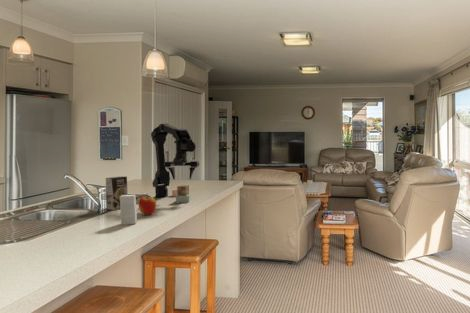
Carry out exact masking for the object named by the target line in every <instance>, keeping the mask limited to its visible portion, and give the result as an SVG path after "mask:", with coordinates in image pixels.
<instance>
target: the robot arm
mask: <svg viewBox="0 0 470 313" xmlns="http://www.w3.org/2000/svg"><path fill="white" fill-rule="evenodd" d="M169 134H170V135H172V137H173V138H174V139H175V140H174V141H173V143H174V144H175V155H174V156H175V157H174V158H173V160H171V161H169V160H167V161H166V158H165V154H166V153H165V143H166V141H167V136H168V135H169ZM150 136H151V141H152V142H153V144H154V145H155V155H156V156H155V157H156V167H157V168H156V169H157V170H156V171H155V174H154V179H153V181H152V187H153V188H154V189H155V191H154V192H155V195H154V198H166V197H168V196H169V188H168V187H169V186H170V183H171V182H170V181H171V177H172V179H173V180H176V173H175V172H176V170H175V168H176V167H177V166H179V167H182V166H185V167H188V166H189V180H192V177H193V174H194V172H195V169H196V168H198V167H200V161H199V160H191V161H188V158H187V157H188V156H187V155H188V153H189V152H190V153H193V152H194V151H195V150H196V148H197V146H196V143H195V142H194V141H193V139H192V137H191V135H190V133H189V131H188V129H187V128H183V127H181V128H178V127H176V126H173V125H170V124H169V123H160V124H159V125H158V126H157V127H155V128H154V129H153V130H152V131H151V133H150ZM167 169H168V170H167ZM170 174H171V176H170Z"/></svg>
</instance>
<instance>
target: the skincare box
mask: <svg viewBox="0 0 470 313" xmlns="http://www.w3.org/2000/svg"><path fill="white" fill-rule="evenodd" d="M136 198H137V197H136V194H128V195H122V196H120V209H119V210H120V224H121V225H122V226H124V225H136V224H137V223H138V218H137V217H138V216H137V215H138V214H137V199H136Z"/></svg>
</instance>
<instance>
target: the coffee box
mask: <svg viewBox="0 0 470 313" xmlns="http://www.w3.org/2000/svg"><path fill="white" fill-rule="evenodd" d="M105 194H106V196H105V197H106V201H105V202H106V210H112V211H116V210H120V196H122V195H129V194H128V176H111V177H110V176H109V177H105Z"/></svg>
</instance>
